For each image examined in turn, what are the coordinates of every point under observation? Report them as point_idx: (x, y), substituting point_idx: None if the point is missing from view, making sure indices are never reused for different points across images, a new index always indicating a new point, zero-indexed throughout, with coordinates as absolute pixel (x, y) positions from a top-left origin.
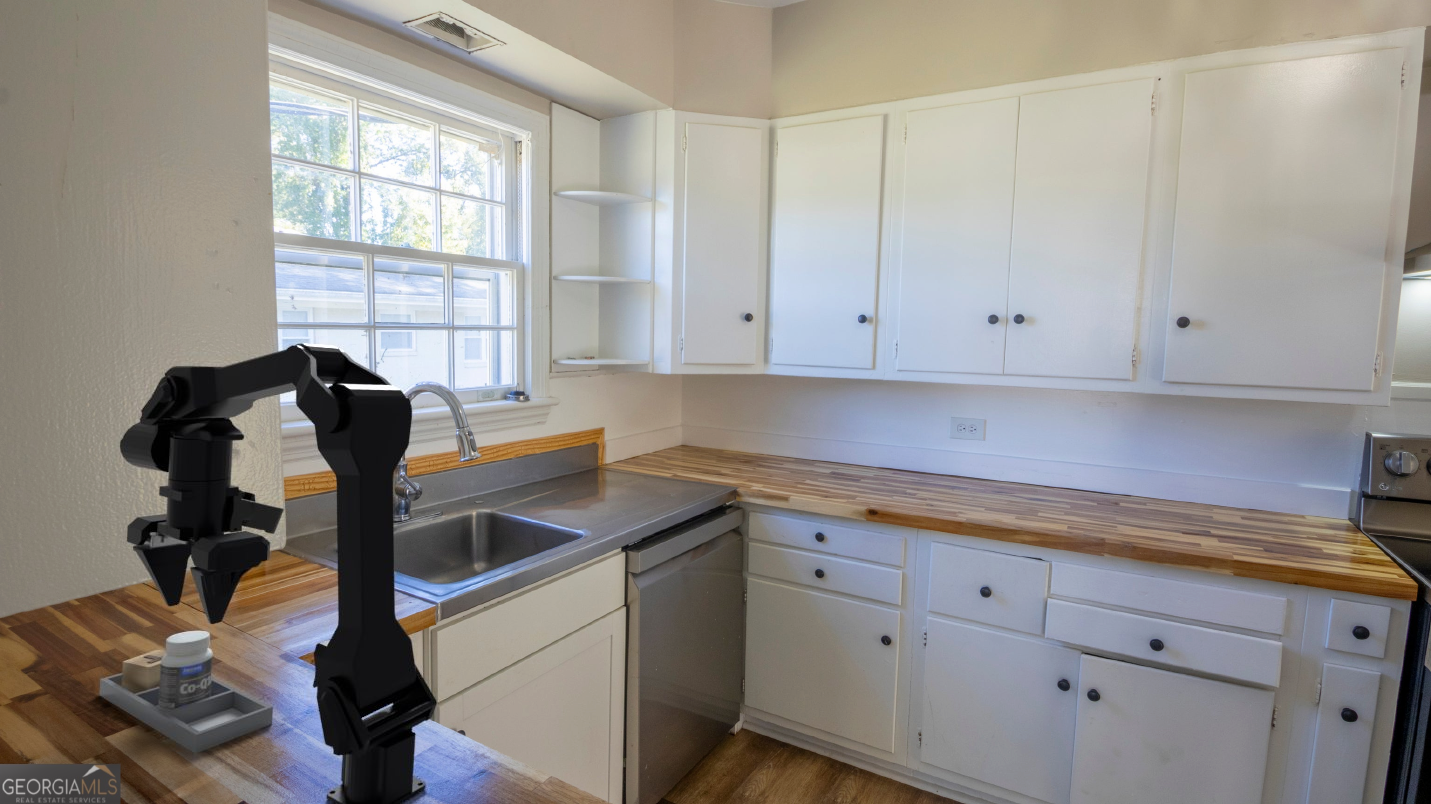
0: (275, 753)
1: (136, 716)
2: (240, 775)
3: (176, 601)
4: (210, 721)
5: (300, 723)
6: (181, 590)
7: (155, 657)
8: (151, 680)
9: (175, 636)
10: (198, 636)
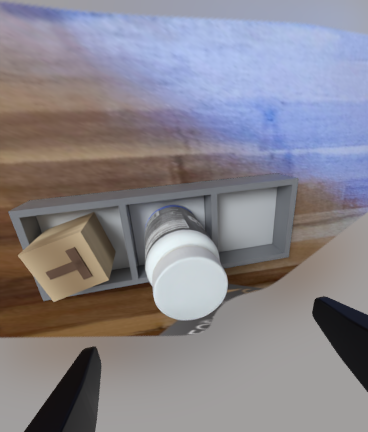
0: (316, 189)
1: None
2: (321, 224)
3: (94, 361)
4: (225, 218)
5: (286, 141)
6: (80, 392)
7: (68, 267)
8: (109, 263)
9: (173, 307)
10: (206, 278)
